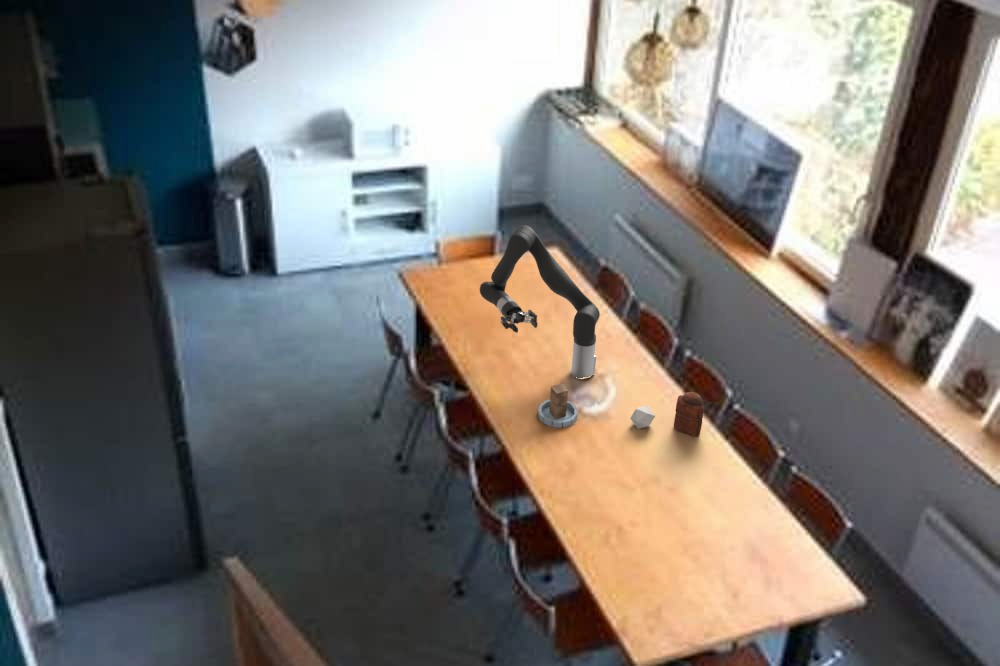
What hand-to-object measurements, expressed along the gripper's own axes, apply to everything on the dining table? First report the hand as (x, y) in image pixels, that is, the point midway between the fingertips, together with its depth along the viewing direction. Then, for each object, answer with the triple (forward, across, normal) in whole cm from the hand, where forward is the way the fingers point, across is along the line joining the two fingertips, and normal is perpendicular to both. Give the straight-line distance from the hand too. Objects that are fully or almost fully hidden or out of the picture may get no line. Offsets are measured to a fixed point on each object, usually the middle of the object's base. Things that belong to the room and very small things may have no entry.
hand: (526, 328), depth 416 cm
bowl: (+20, +5, +31) cm, 38 cm away
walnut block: (+20, +4, +30) cm, 37 cm away
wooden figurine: (+50, +48, +32) cm, 76 cm away
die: (+40, +32, +32) cm, 60 cm away
